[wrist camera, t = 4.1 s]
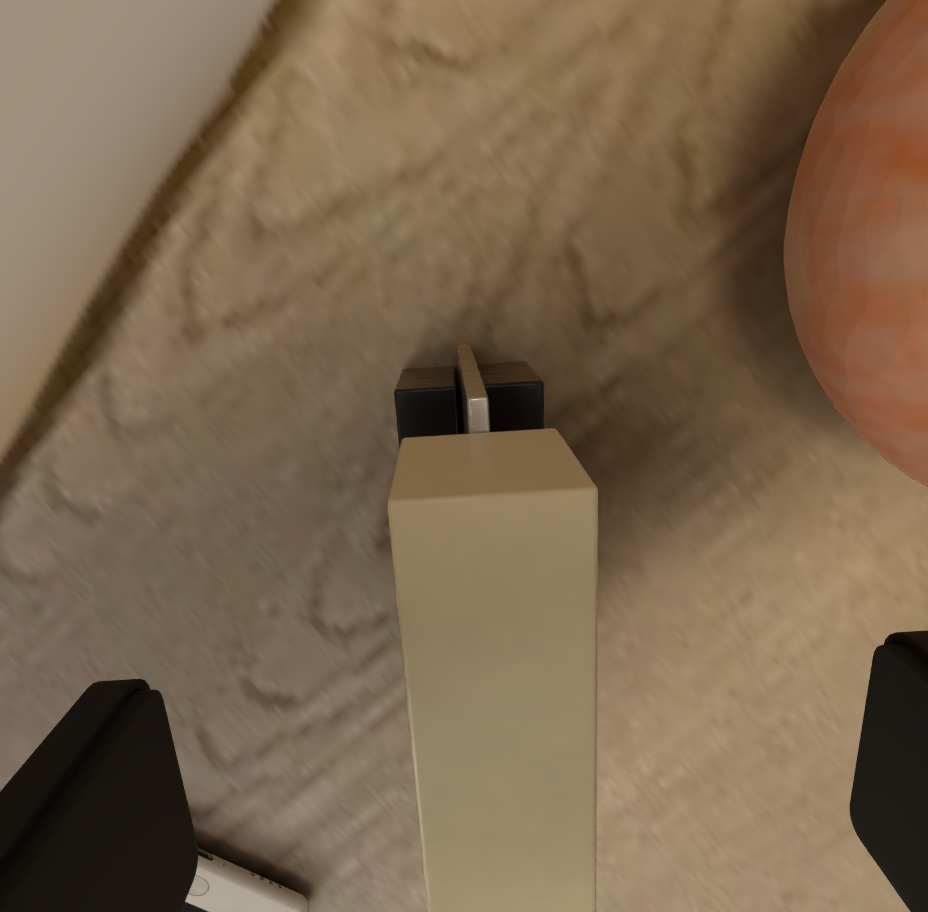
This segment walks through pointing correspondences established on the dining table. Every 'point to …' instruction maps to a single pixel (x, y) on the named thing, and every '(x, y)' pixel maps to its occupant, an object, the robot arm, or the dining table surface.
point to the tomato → (869, 238)
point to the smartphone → (237, 890)
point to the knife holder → (435, 400)
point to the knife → (499, 660)
